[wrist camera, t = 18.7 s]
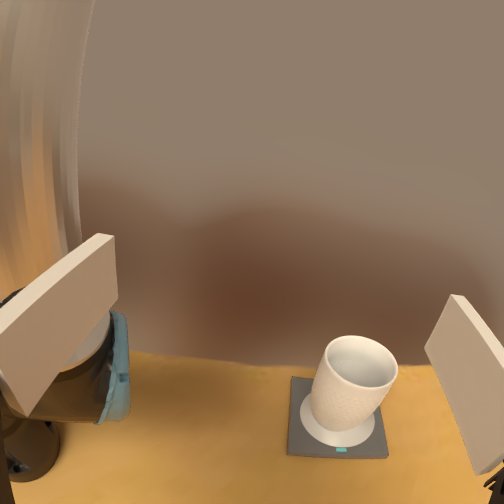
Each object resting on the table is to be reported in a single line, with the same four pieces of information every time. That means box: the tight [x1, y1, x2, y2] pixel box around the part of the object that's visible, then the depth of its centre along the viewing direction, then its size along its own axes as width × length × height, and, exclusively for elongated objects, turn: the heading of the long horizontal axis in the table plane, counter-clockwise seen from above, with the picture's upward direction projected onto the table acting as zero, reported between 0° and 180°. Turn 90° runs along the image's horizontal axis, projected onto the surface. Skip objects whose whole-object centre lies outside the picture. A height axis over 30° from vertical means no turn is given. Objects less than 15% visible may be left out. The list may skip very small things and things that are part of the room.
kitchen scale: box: [287, 376, 389, 459], centre depth 43 cm, size 16×16×1 cm
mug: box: [310, 336, 398, 432], centre depth 42 cm, size 15×11×13 cm
